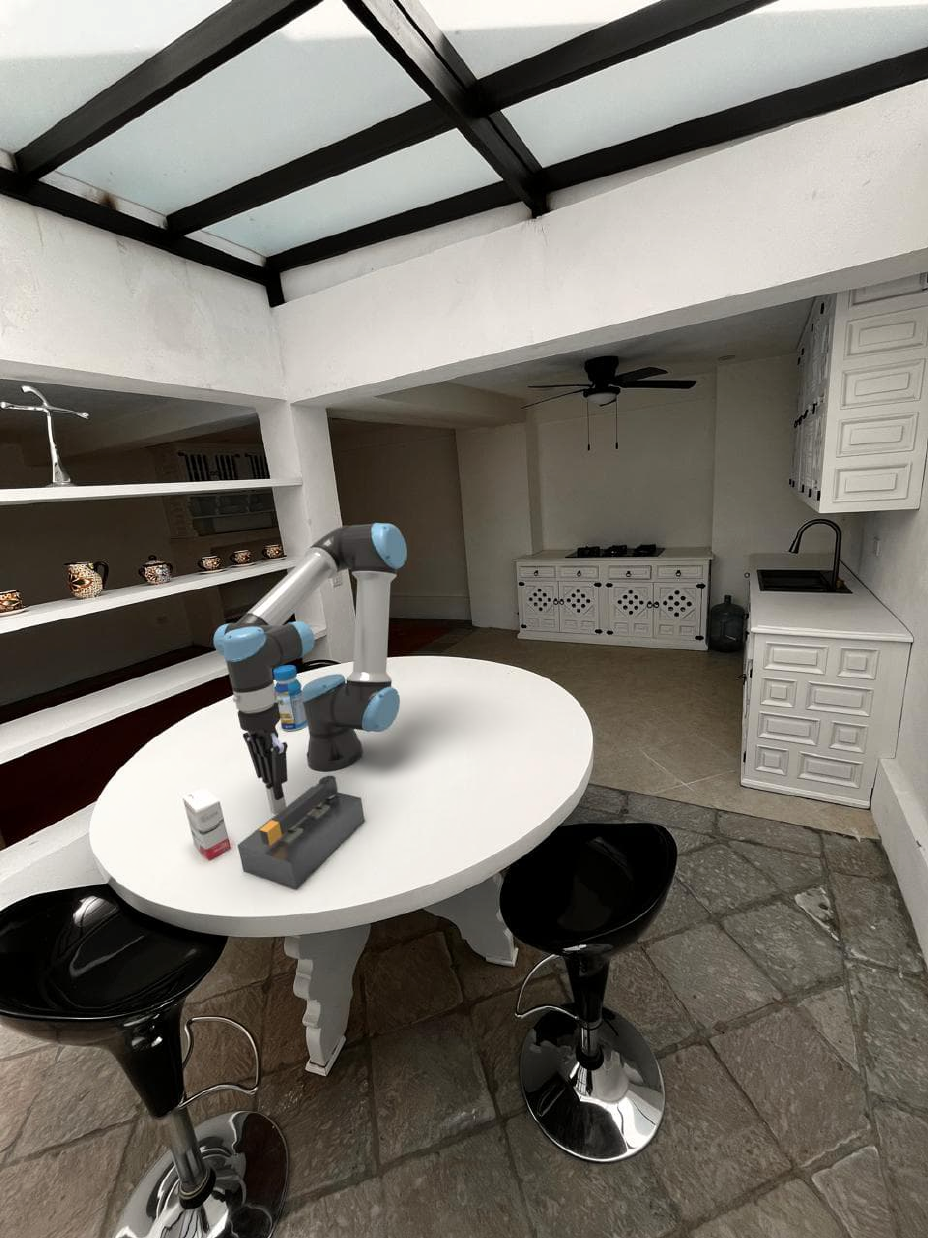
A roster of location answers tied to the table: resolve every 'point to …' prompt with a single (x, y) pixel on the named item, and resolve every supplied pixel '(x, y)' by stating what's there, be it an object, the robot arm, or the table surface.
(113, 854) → the table surface
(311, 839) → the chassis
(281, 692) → the beverage bottle
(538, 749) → the table surface
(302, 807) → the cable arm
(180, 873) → the table surface
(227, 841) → the ink box
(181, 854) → the table surface
